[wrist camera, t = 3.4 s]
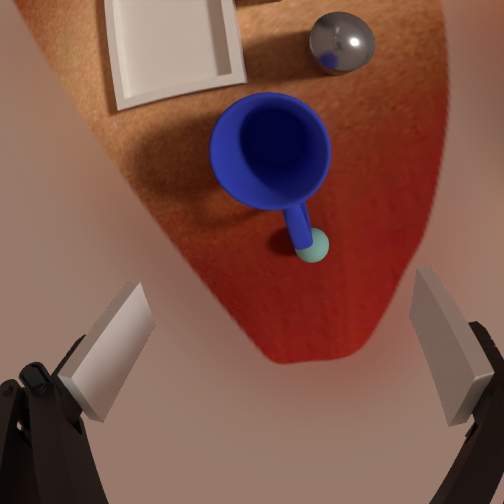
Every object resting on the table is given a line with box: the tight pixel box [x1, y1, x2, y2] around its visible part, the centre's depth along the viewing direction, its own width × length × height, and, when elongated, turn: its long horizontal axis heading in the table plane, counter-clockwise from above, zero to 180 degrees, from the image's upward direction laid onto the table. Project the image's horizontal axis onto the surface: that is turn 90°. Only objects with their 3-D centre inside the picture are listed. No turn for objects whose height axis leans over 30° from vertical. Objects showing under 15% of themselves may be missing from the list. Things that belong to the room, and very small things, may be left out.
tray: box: [104, 0, 248, 111], centre depth 23 cm, size 17×13×2 cm
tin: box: [308, 12, 375, 76], centre depth 22 cm, size 5×5×6 cm
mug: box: [209, 92, 331, 250], centre depth 25 cm, size 8×12×10 cm
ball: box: [295, 228, 329, 262], centre depth 32 cm, size 4×4×4 cm
